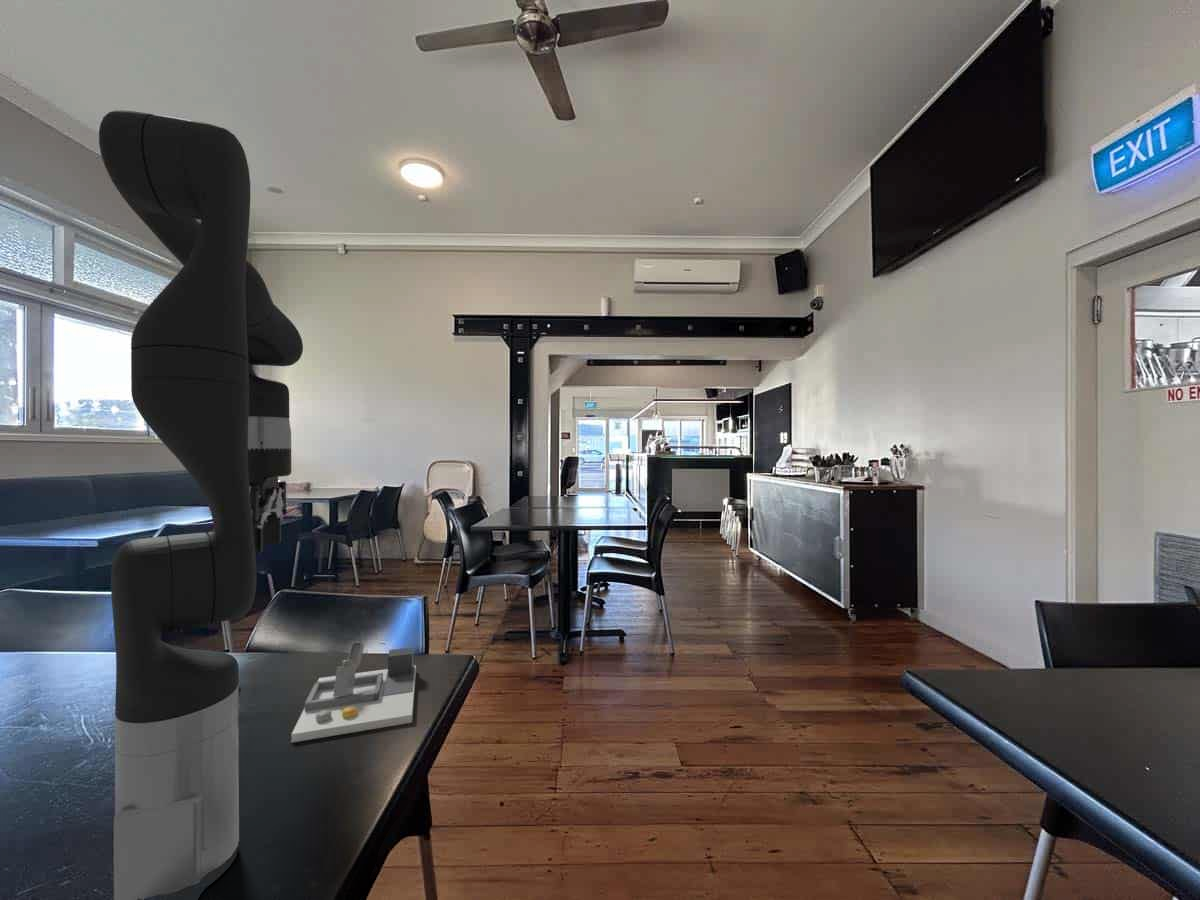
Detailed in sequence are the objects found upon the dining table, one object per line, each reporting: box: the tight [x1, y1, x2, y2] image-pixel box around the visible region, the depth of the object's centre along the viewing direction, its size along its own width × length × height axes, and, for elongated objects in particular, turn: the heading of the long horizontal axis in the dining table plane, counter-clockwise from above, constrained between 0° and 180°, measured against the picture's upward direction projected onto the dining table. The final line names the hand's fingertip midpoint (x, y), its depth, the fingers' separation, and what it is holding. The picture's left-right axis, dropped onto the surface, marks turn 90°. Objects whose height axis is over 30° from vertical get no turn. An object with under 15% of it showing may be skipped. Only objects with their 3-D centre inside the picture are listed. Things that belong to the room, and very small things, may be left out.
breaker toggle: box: [387, 647, 414, 676], centre depth 89 cm, size 3×4×4 cm
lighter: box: [333, 640, 365, 697], centre depth 82 cm, size 7×2×8 cm, turn 8°
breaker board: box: [290, 664, 417, 744], centre depth 81 cm, size 18×16×2 cm
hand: (263, 548), depth 78 cm, fingers open, 8 cm apart
